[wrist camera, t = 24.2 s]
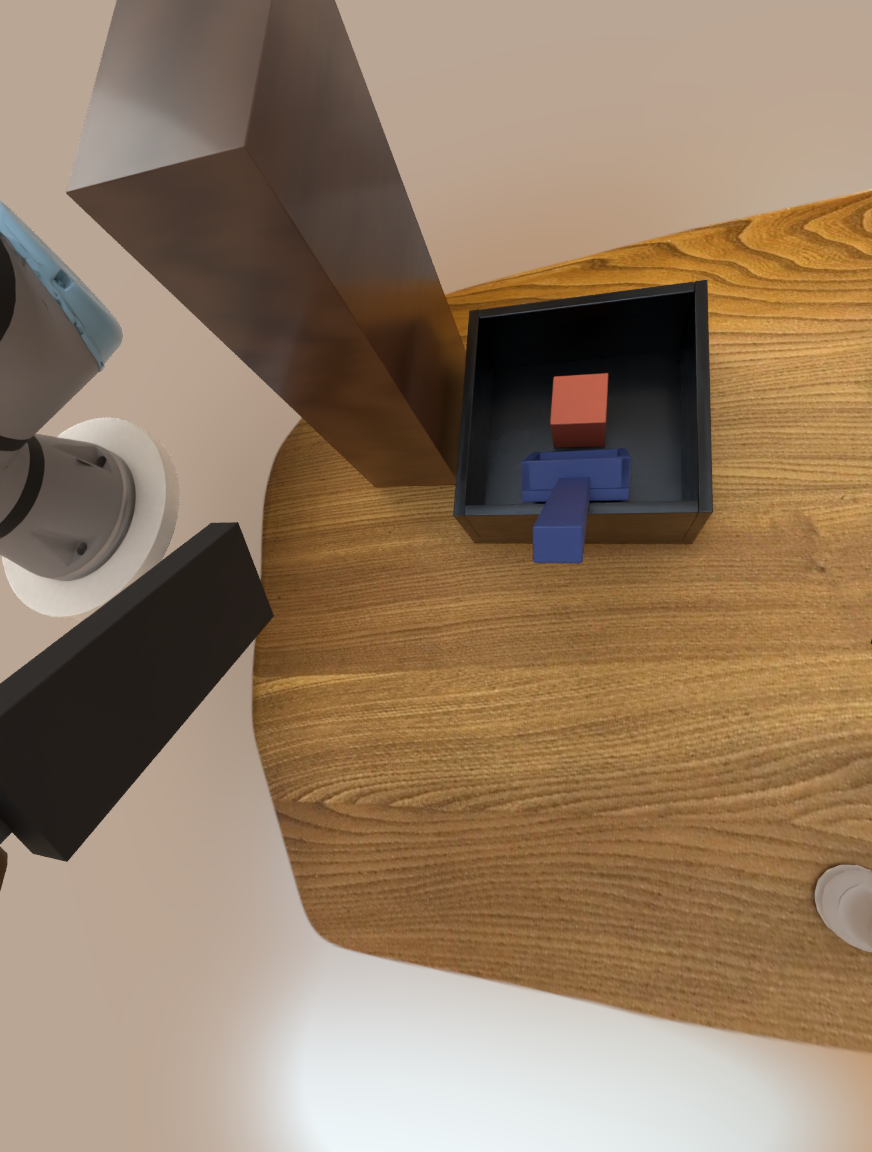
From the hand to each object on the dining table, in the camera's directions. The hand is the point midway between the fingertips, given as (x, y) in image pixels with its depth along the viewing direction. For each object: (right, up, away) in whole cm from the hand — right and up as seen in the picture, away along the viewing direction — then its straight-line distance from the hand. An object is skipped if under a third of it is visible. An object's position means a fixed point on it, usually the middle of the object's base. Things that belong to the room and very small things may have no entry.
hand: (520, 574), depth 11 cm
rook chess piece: (+24, -20, +21) cm, 38 cm away
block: (+10, +15, +30) cm, 35 cm away
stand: (-3, +14, +37) cm, 40 cm away
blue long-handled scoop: (+6, +4, +21) cm, 22 cm away
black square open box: (+10, +11, +32) cm, 35 cm away
